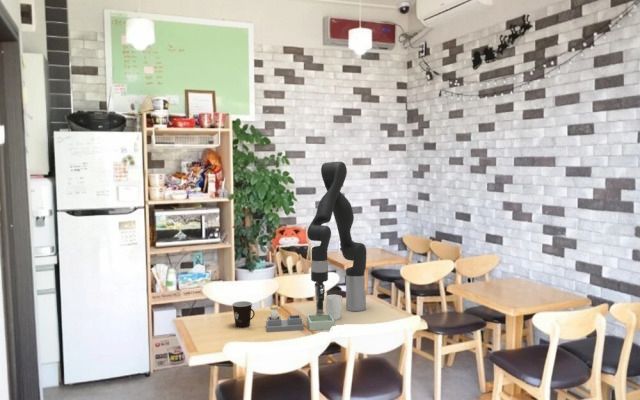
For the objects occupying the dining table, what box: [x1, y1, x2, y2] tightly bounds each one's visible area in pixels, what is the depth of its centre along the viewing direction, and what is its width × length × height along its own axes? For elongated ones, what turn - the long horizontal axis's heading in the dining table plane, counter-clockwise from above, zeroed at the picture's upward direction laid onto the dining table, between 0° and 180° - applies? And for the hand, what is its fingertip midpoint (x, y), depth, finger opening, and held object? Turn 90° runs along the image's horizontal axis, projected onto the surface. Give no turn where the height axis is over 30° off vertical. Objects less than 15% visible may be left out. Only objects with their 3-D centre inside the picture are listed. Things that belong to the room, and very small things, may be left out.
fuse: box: [269, 304, 279, 320], centre depth 231 cm, size 3×3×8 cm
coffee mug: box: [232, 300, 256, 329], centre depth 234 cm, size 12×9×10 cm
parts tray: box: [306, 313, 336, 331], centre depth 234 cm, size 11×11×4 cm
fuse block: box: [265, 314, 305, 333], centre depth 232 cm, size 16×9×4 cm, turn 99°
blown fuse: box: [315, 296, 325, 316], centre depth 233 cm, size 3×3×8 cm
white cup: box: [324, 294, 343, 321], centre depth 245 cm, size 8×8×10 cm
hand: (319, 307), depth 233 cm, fingers closed on blown fuse, 3 cm apart
